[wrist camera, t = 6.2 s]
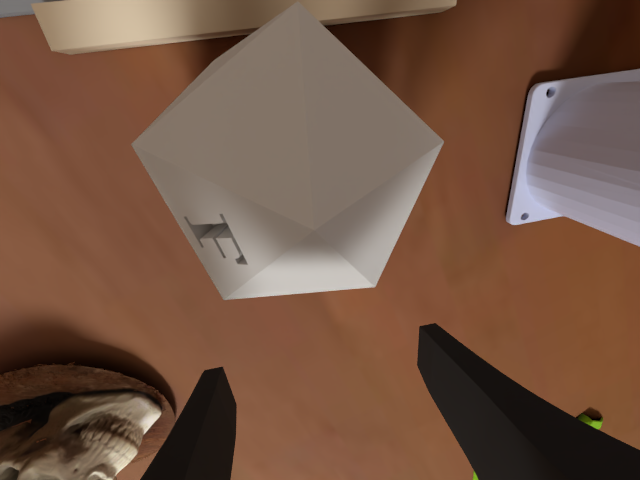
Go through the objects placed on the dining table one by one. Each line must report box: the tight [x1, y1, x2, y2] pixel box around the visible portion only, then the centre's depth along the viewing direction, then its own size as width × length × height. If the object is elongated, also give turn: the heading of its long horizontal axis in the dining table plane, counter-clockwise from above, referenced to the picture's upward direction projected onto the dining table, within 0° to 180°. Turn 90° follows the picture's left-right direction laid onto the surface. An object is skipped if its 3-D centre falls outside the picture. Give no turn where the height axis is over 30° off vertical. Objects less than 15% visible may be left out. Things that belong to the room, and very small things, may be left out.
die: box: [131, 1, 444, 300], centre depth 11 cm, size 8×9×10 cm
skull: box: [0, 362, 175, 480], centre depth 19 cm, size 12×10×10 cm
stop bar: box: [31, 0, 457, 55], centre depth 12 cm, size 16×1×1 cm, turn 97°
